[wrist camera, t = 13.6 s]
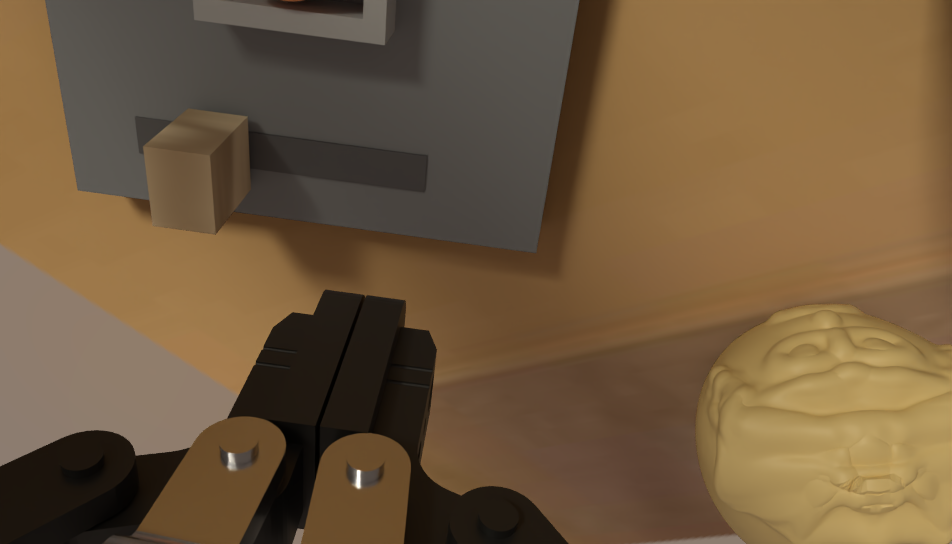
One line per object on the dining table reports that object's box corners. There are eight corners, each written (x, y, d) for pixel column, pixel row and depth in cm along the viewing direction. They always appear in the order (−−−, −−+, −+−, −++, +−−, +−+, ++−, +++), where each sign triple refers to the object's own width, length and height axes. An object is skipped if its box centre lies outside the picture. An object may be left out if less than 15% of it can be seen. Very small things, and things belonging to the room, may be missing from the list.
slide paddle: (194, 181, 33) (152, 225, 30) (188, 108, 31) (142, 146, 28) (250, 189, 33) (215, 234, 29) (247, 116, 31) (209, 155, 28)
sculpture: (939, 251, 35) (1076, 414, 26) (914, 451, 41) (1019, 642, 32) (674, 281, 37) (715, 442, 28) (688, 467, 43) (724, 651, 34)
